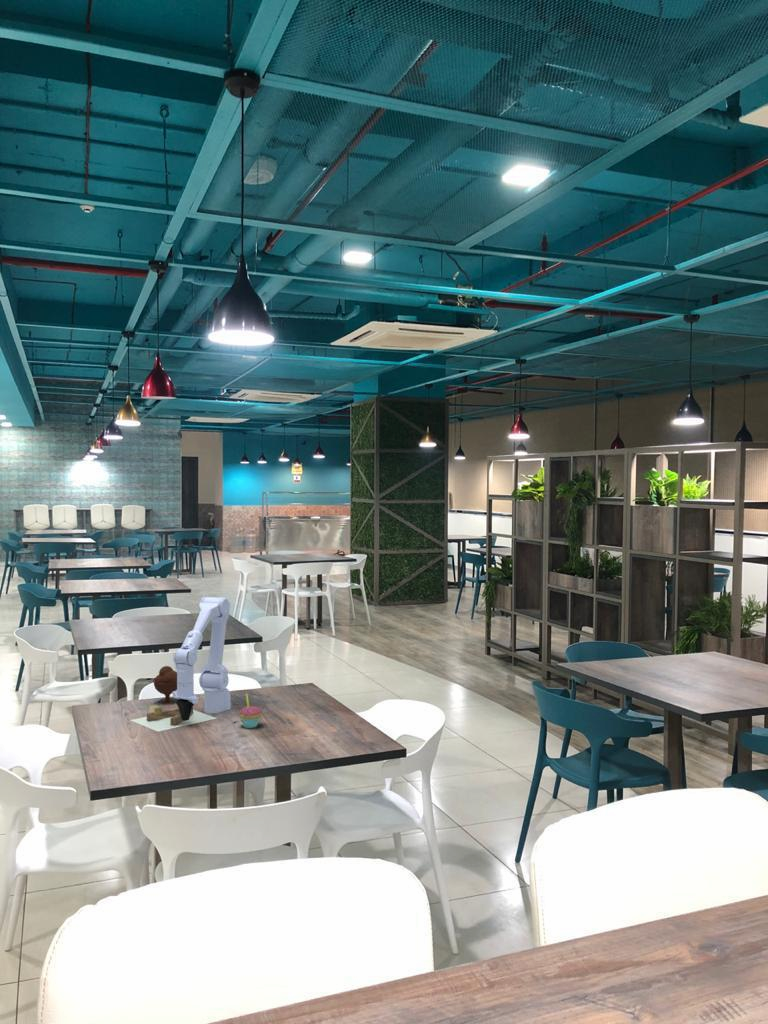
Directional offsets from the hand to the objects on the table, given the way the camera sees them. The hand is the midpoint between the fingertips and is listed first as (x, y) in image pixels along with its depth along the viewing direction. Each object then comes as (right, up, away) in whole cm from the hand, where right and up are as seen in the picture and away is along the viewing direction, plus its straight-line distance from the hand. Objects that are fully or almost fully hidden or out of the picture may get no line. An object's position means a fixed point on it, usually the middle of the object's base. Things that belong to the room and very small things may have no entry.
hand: (185, 720), depth 290 cm
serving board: (-6, -2, +6) cm, 8 cm away
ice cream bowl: (-15, -2, +31) cm, 34 cm away
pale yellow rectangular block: (-12, +1, +5) cm, 13 cm away
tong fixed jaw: (-7, -1, +9) cm, 12 cm away
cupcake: (+23, -3, +1) cm, 23 cm away
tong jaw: (-3, -1, +4) cm, 5 cm away
